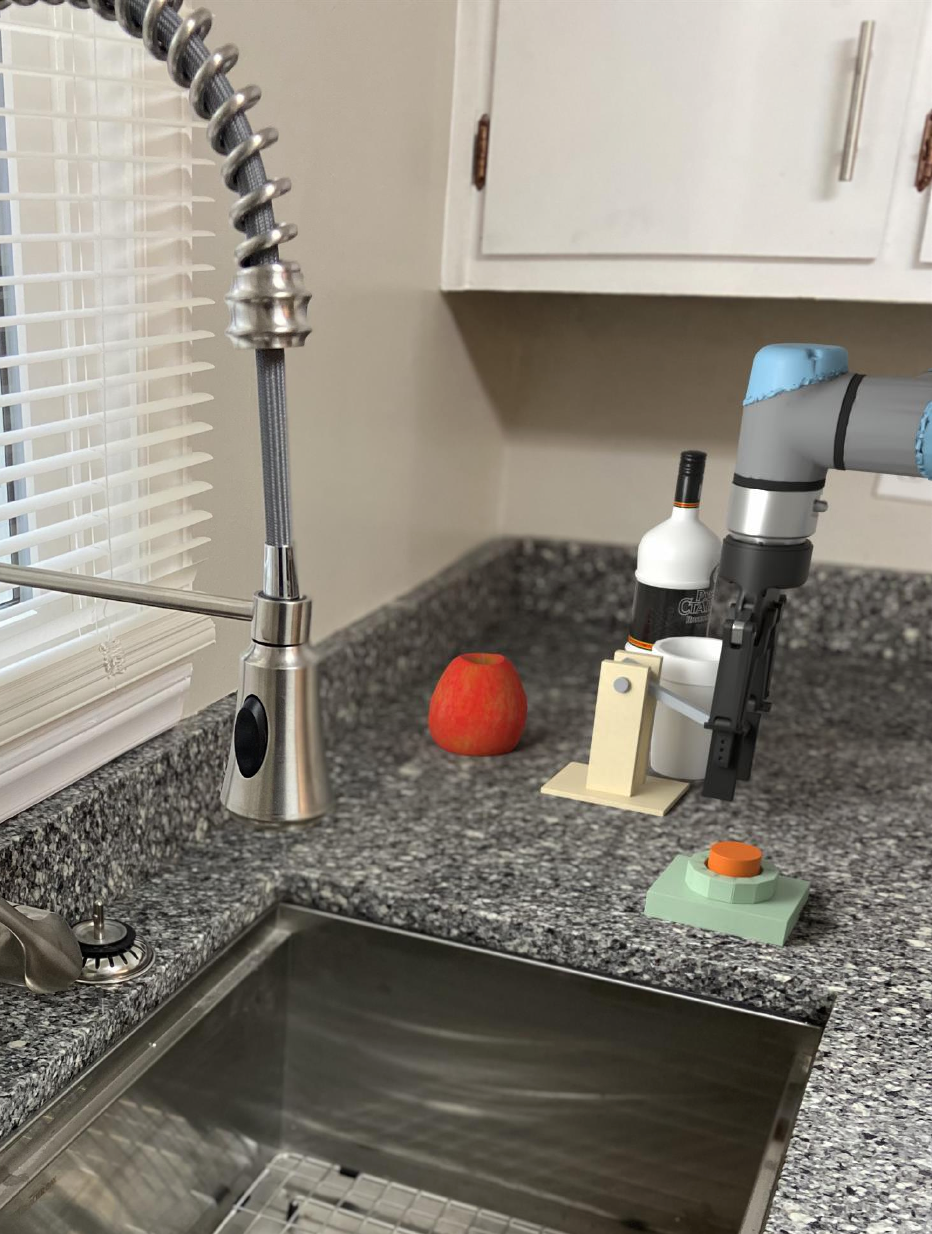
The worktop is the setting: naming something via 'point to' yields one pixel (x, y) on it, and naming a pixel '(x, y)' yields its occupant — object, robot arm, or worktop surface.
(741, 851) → the button
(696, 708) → the lever
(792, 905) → the control block
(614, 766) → the bracket
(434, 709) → the apple
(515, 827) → the worktop surface
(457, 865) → the worktop surface
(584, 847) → the worktop surface
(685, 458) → the vodka
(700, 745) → the foam cup
